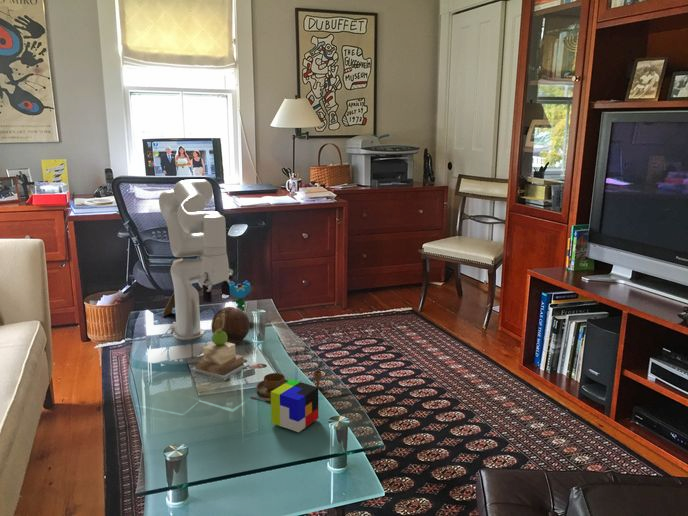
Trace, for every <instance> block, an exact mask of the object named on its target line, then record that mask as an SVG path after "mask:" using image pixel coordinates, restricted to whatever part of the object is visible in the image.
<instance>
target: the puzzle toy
mask: <svg viewBox="0 0 688 516" xmlns="http://www.w3.org/2000/svg"><path fill="white" fill-rule="evenodd" d="M316 386H317V385H316ZM316 386H314V385H311V384H308V383H305V382H303V381H298V380H294V379H289V380H288V382H286V383H285V384H283V385H281V386H280V387H278V388H276V389H274V390H273V391H271V397H270V398H271V401H270V416H271V417H270V419H271V421H270V422H271V424H273V425H276V426H279V427H282V428H285V429H288V430H291V431H294V432H297V433H300V432H301V431H303V430H304V429H305V428H307V427H308V426H310V425H311V424H312V423H313V422H315V421H317V420H318V419H319V387H316Z"/></svg>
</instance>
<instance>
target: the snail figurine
mask: <svg viewBox="0 0 688 516" xmlns="http://www.w3.org/2000/svg"><path fill="white" fill-rule="evenodd" d="M222 312H223V310H222ZM221 317H222V318H220V317H218V318H217V319H216V320H215V323H214V327H215V329H216V330H215V331H216V332H214V333H213V332H212V336H211V341H212V343H214V344H216V345H219V346H220V345H223V344H225V343H226V341H227V334H226V333H225V332H224V331H222V328H223V327H224V322H225V310H224V313H223V314H222V315H221Z"/></svg>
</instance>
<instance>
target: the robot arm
mask: <svg viewBox="0 0 688 516" xmlns="http://www.w3.org/2000/svg"><path fill="white" fill-rule="evenodd" d="M213 194H214V191H213V186H212V184H211V182H209V181H208V180H207V179H203V178H202V179H184V180H179V181H177V182H176V183H175V184H174V186H173V189H170V190H165V191H163V192H161V193H160V195H159V197H158V204H159V205H158V206H159V210H160V212H161V215H162V217H163V218H164V221H165V223H166V226H167V231H168V232H167V233H168V238H169V244H170V250H171V254H172V255H173V257H176V258H188V257H199V258H195V259H194V258H193V259H191V258H190V259H183V260H182V261H178V262H175V263H174V264H173V263H172V264H173V265H171V266H170V270H171V273H170V275H171V276H172V277H171V280H172V284H173V285H172V286H173V292H174V295H175V303H174V309H175V310H174V311H175V321H173V322H172V324H171V325H170V327H169V328H170V329H174V331H173V332H172V337H173V338H174V339H176V340H181V341H182V340H183V341H187V340H195V339H198V338H200V337H202V336H204V335H205V330H204V329H203V328H202V327H201V315H200V313H201V312H200V296H199V292H198V290H197V289H196V288H195V286H193V285H192V284H196V283H198V285H199V288H200V289H201V291H202V294H203V295H202V296H203V298H202V299H203V302H205V303H212V302H213V301H212V300H213V298H212V297H213V296H212V287H213V286H215V285H217V284H221V294H222V295H224V296H230V295H231V293H230V284H231V280H232V278H233V274H234V270H233V269H232V268H230V265H229V257H228V253H227V229H226V228H227V227H226V217H225V216H224V215H222V214H221V212H219V211H215V210H209V211H207V210H206V211H204V209H205V208H206V206H207V205H208V204H209V203H210V201H211V200H212V199H213Z"/></svg>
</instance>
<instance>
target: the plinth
mask: <svg viewBox="0 0 688 516" xmlns="http://www.w3.org/2000/svg"><path fill="white" fill-rule="evenodd" d="M202 354H203V356H202V357H201V358H199V359H197V360H196V361H195V366H196V369H198V370H202V371H206V372H210V373H214V374H218V375H221V376H223V375H225V374H227V373H229V372H230V371H232V370H234V369H236V368H237V367H239V366H241V365H243V364H244V363H245V362H244V360H245V359H244V356H243V355H240V354H236V344H233V343H228V342H226V343H225V344H223V345H220V346H219V345H216V344H214V343H213V342H211V343H209V344H207V345H205V346H203V347H202Z"/></svg>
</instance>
